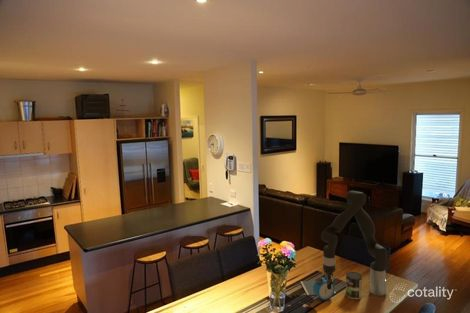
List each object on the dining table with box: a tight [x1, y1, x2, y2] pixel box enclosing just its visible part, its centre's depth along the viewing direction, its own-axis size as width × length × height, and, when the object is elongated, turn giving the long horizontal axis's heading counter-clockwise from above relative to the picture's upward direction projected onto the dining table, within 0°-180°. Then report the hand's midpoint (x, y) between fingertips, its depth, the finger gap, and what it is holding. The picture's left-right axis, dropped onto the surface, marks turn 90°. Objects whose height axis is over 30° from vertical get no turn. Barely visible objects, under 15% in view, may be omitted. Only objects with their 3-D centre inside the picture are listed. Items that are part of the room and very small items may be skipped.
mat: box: [300, 279, 337, 297], centre depth 227 cm, size 20×18×1 cm
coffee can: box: [345, 271, 363, 300], centre depth 216 cm, size 10×10×14 cm
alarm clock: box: [313, 276, 336, 302], centre depth 213 cm, size 13×6×15 cm, turn 108°
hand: (329, 288), depth 203 cm, fingers closed
